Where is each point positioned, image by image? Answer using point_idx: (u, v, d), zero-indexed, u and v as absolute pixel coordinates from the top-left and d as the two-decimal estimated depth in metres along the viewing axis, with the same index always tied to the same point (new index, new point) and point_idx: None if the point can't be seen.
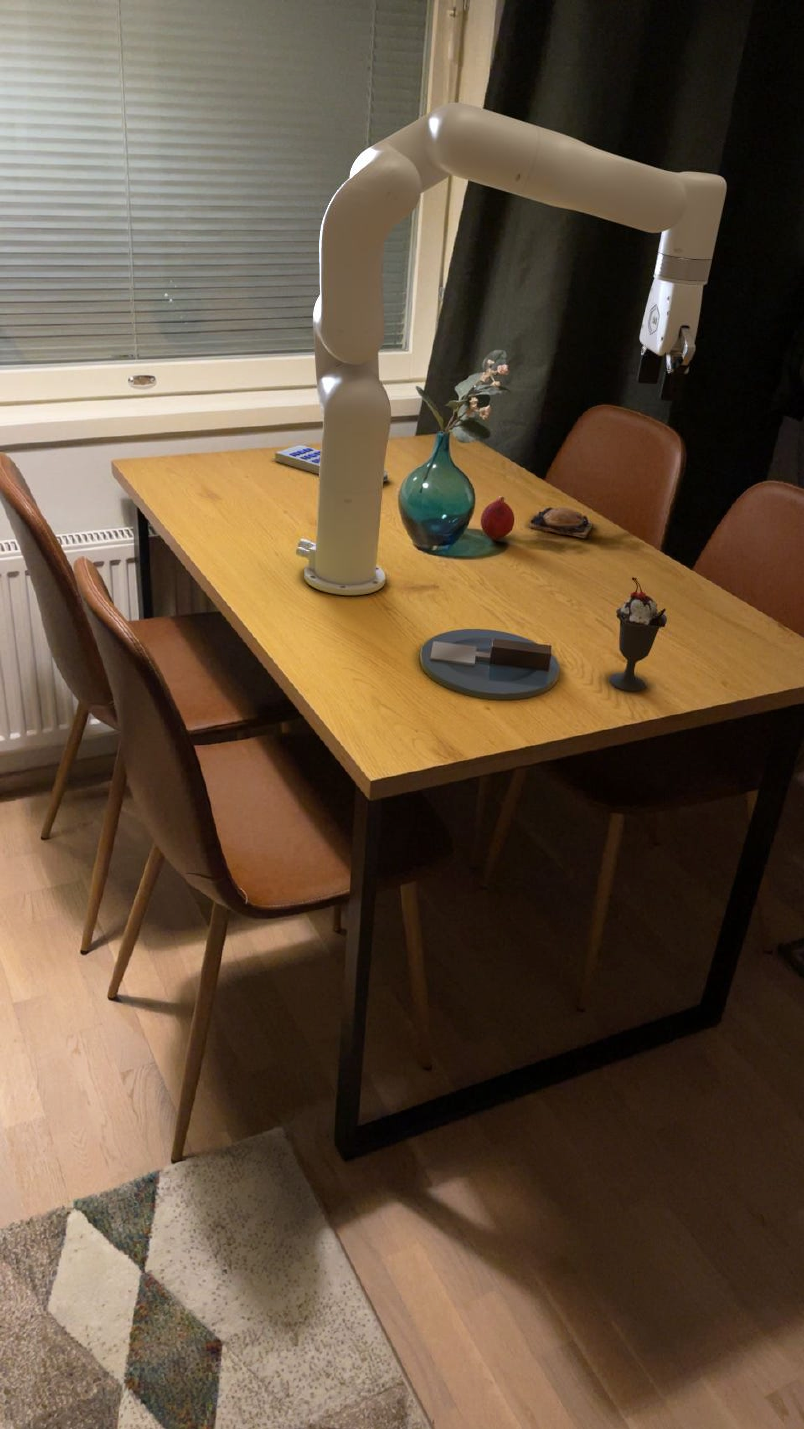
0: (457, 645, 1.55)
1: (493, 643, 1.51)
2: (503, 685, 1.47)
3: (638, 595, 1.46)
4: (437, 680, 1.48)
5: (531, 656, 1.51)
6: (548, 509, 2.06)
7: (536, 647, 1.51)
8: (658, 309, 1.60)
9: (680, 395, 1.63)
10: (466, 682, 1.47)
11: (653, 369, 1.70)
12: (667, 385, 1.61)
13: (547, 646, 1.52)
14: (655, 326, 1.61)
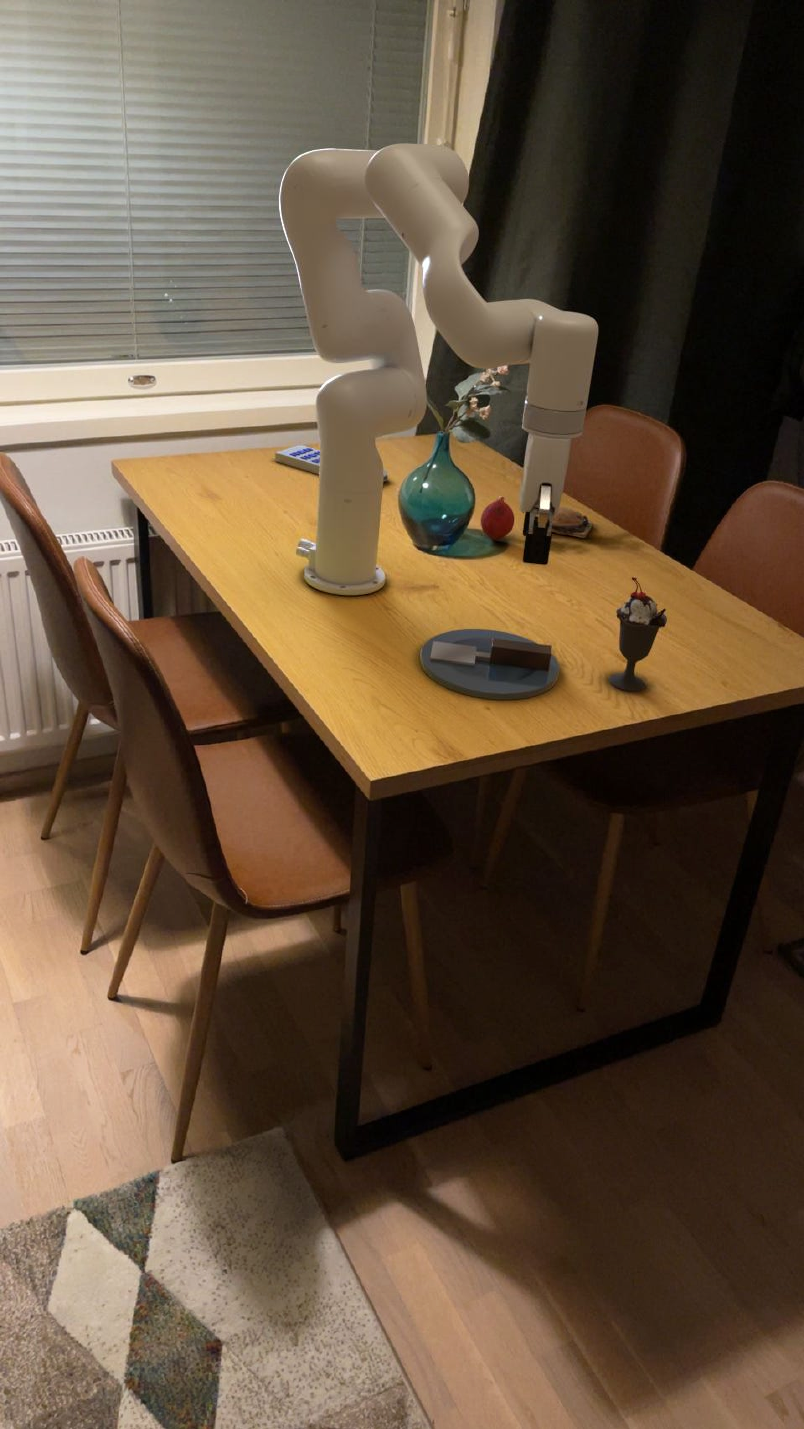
0: (457, 645, 1.55)
1: (493, 643, 1.51)
2: (503, 685, 1.47)
3: (638, 595, 1.46)
4: (437, 680, 1.48)
5: (531, 656, 1.51)
6: None
7: (536, 647, 1.51)
8: (525, 461, 1.40)
9: (546, 559, 1.42)
10: (466, 682, 1.47)
11: None
12: (529, 547, 1.41)
13: (547, 646, 1.52)
14: (522, 479, 1.41)
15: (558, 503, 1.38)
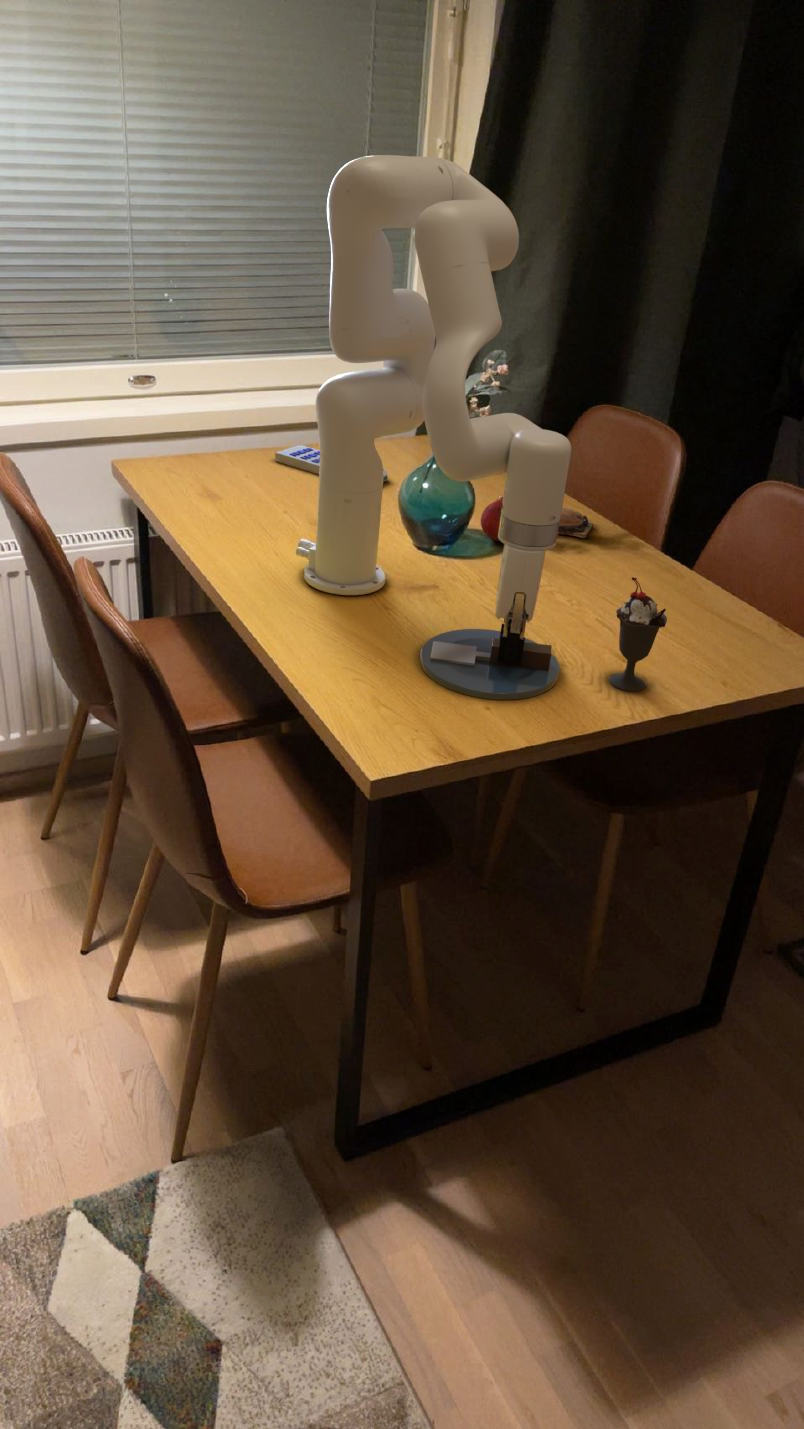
0: (457, 645, 1.55)
1: (493, 643, 1.51)
2: (503, 685, 1.47)
3: (638, 595, 1.46)
4: (437, 680, 1.48)
5: (531, 656, 1.51)
6: None
7: (536, 647, 1.51)
8: None
9: (520, 660, 1.50)
10: (466, 682, 1.47)
11: None
12: (504, 648, 1.50)
13: (547, 646, 1.52)
14: (499, 585, 1.46)
15: (532, 611, 1.44)
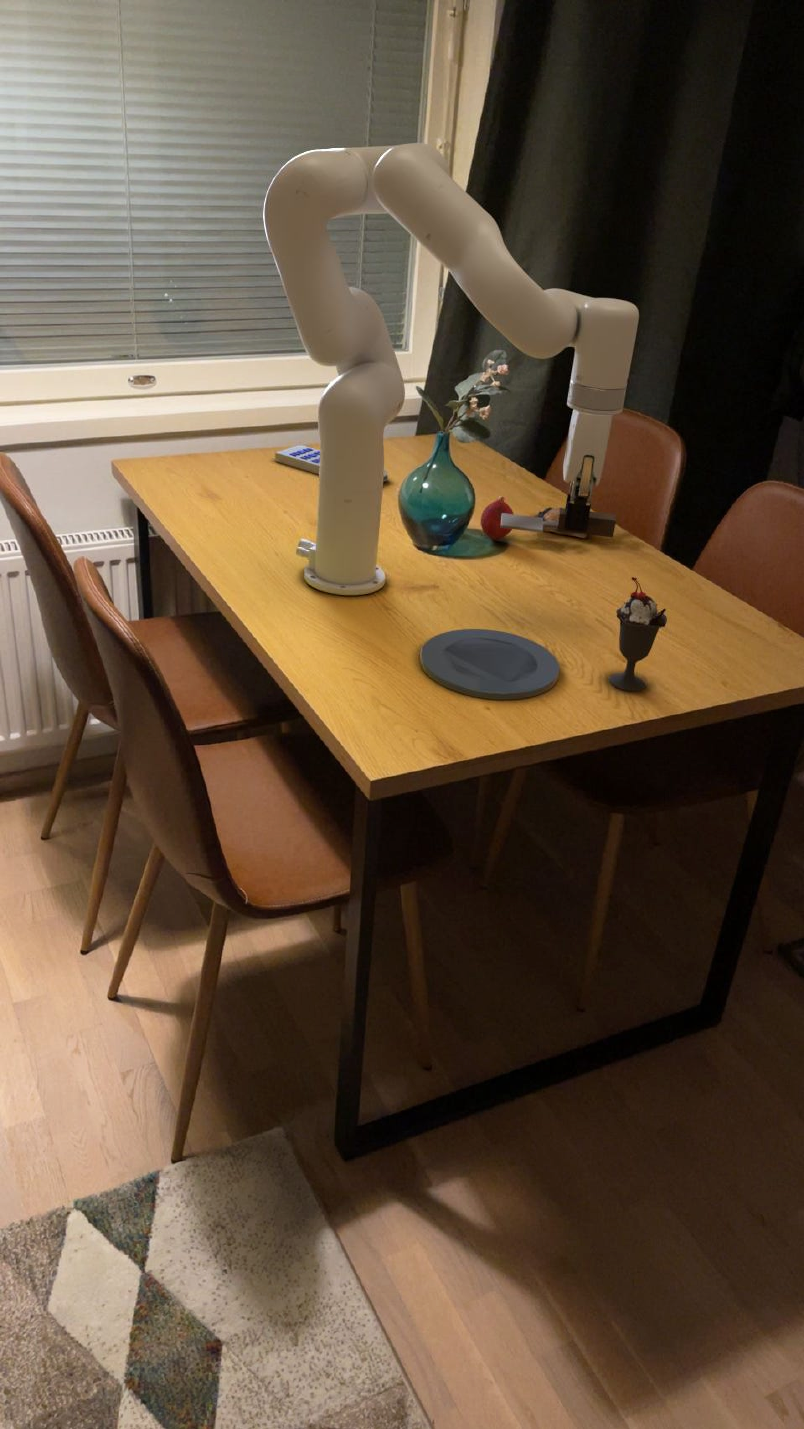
0: (524, 516, 1.63)
1: (560, 511, 1.59)
2: (503, 685, 1.47)
3: (638, 595, 1.46)
4: (437, 680, 1.48)
5: (597, 523, 1.59)
6: (548, 509, 2.06)
7: (600, 515, 1.59)
8: (569, 435, 1.53)
9: (586, 526, 1.58)
10: (466, 682, 1.47)
11: None
12: (570, 515, 1.58)
13: (611, 514, 1.60)
14: None
15: (599, 474, 1.52)
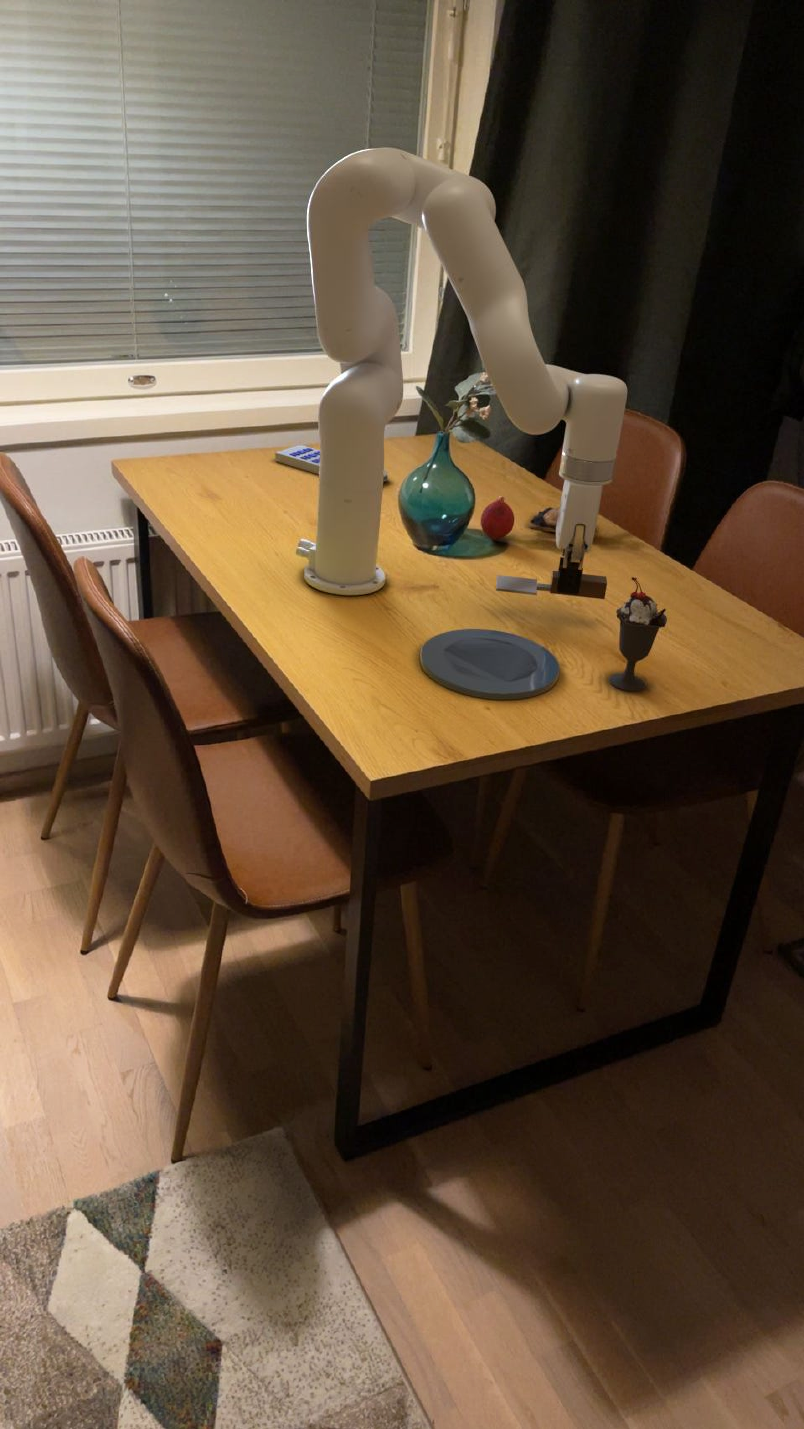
0: (519, 578, 1.69)
1: (553, 574, 1.65)
2: (503, 685, 1.47)
3: (638, 595, 1.46)
4: (437, 680, 1.48)
5: (589, 586, 1.65)
6: (548, 509, 2.06)
7: (592, 578, 1.65)
8: (561, 504, 1.59)
9: (578, 589, 1.64)
10: (466, 682, 1.47)
11: None
12: (563, 578, 1.64)
13: (602, 577, 1.66)
14: None
15: (591, 541, 1.58)
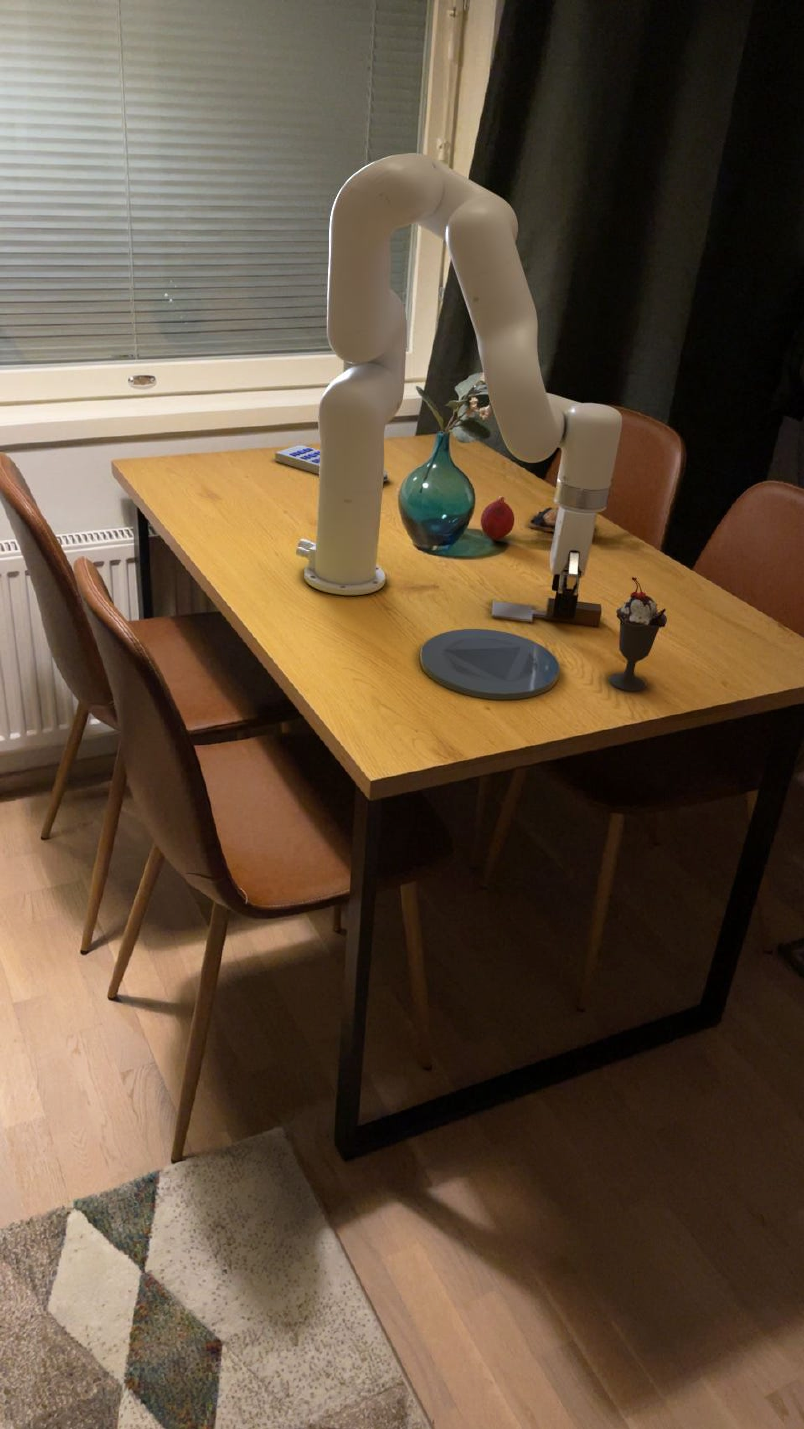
0: (515, 604, 1.71)
1: (549, 602, 1.67)
2: (503, 685, 1.47)
3: (638, 595, 1.46)
4: (437, 680, 1.48)
5: (583, 613, 1.67)
6: (548, 509, 2.06)
7: (587, 605, 1.68)
8: (556, 529, 1.61)
9: (573, 614, 1.63)
10: (466, 682, 1.47)
11: (567, 579, 1.71)
12: (558, 604, 1.62)
13: (597, 604, 1.68)
14: (553, 545, 1.62)
15: (584, 567, 1.60)
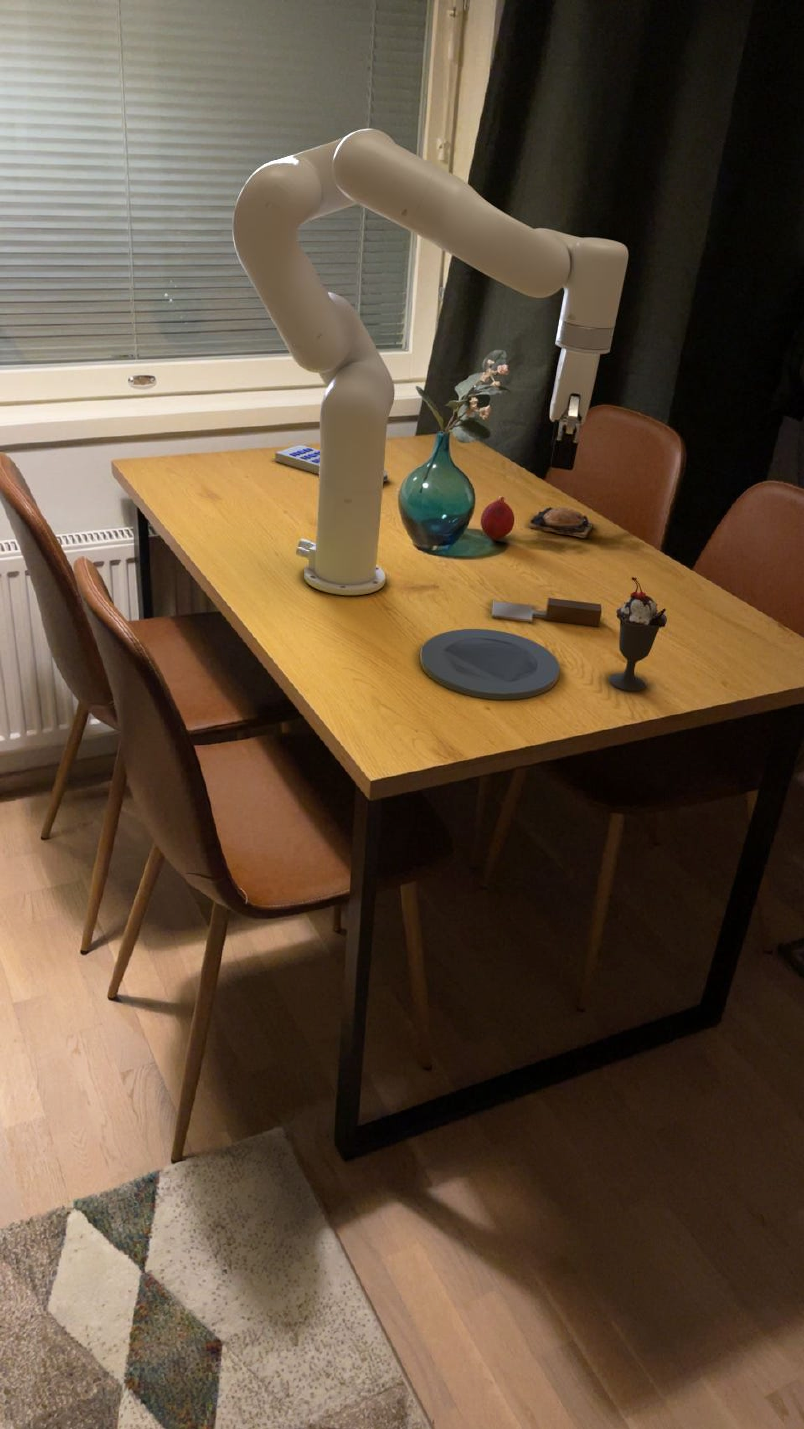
0: (515, 604, 1.71)
1: (549, 602, 1.67)
2: (503, 685, 1.47)
3: (638, 595, 1.46)
4: (437, 680, 1.48)
5: (583, 613, 1.67)
6: (548, 509, 2.06)
7: (587, 605, 1.68)
8: (556, 375, 1.56)
9: (572, 465, 1.57)
10: (466, 682, 1.47)
11: None
12: (557, 453, 1.57)
13: (597, 604, 1.68)
14: None
15: (585, 413, 1.54)
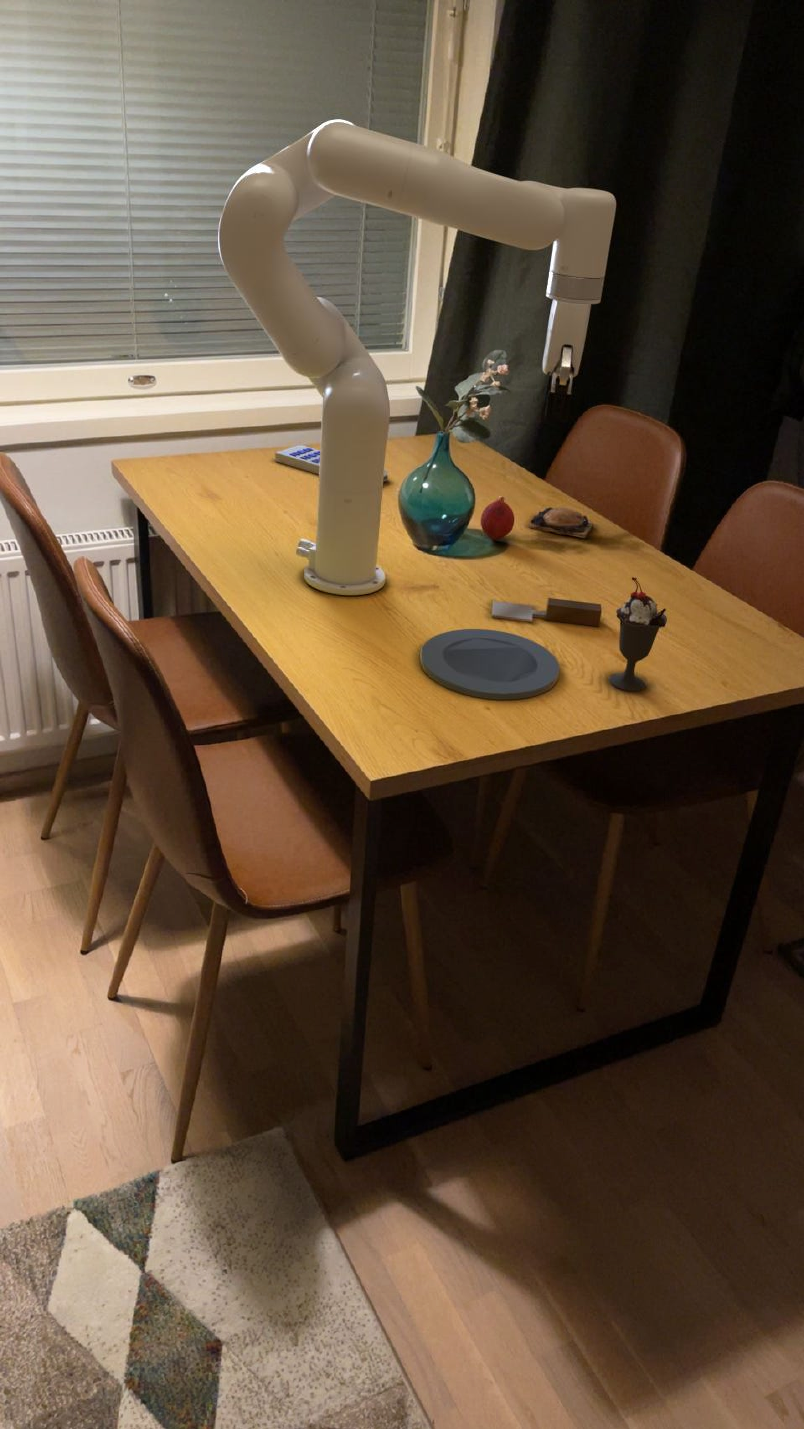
0: (515, 604, 1.71)
1: (549, 602, 1.67)
2: (503, 685, 1.47)
3: (638, 595, 1.46)
4: (437, 680, 1.48)
5: (583, 613, 1.67)
6: (548, 509, 2.06)
7: (587, 605, 1.68)
8: (548, 327, 1.56)
9: (567, 417, 1.58)
10: (466, 682, 1.47)
11: None
12: (551, 405, 1.57)
13: (597, 604, 1.68)
14: None
15: (578, 364, 1.55)
